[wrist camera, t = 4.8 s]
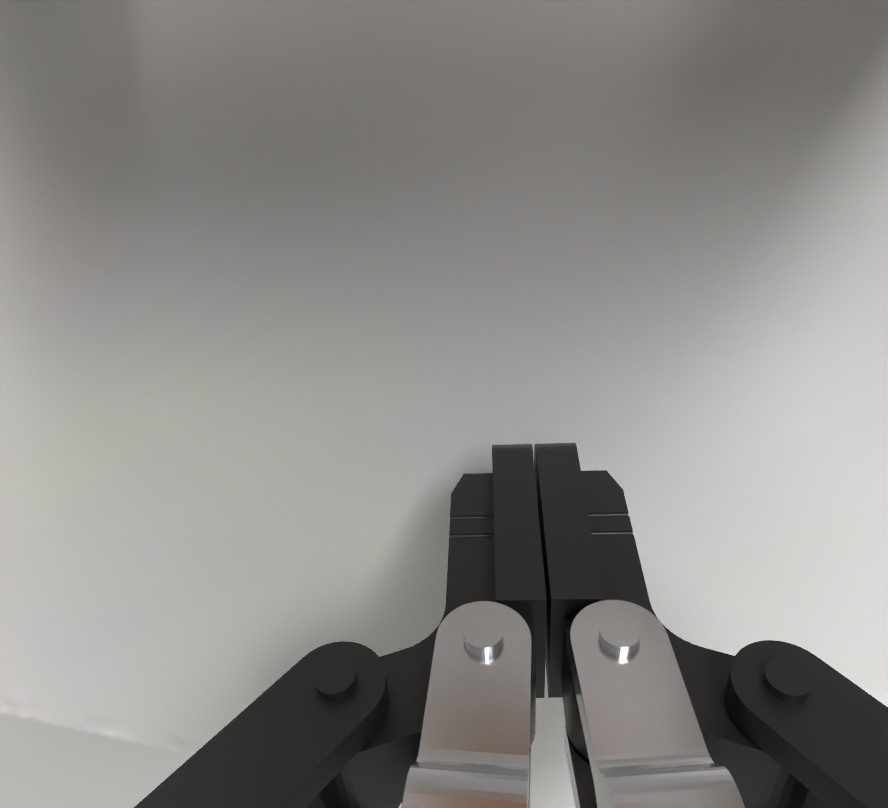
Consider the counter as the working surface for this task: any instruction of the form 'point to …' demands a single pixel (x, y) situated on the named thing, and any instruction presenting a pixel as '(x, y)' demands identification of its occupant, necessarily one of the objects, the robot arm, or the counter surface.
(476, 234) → the counter surface
